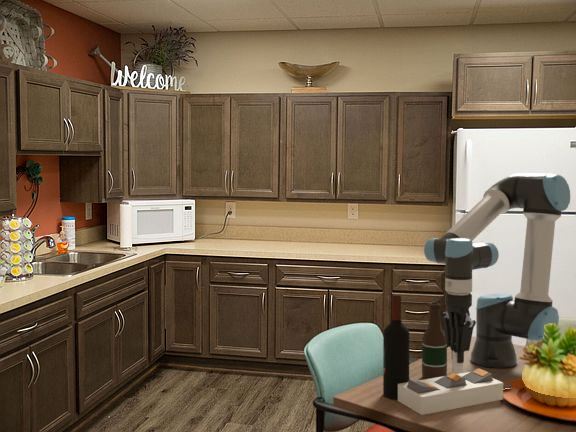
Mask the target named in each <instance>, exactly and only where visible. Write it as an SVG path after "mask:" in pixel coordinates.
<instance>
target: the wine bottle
mask: <svg viewBox="0 0 576 432" xmlns="http://www.w3.org/2000/svg"><path fill="white" fill-rule="evenodd" d="M390 320H391V322H390V323H388V324H387V325H386V326H385V327H384V329H383V335H382V336H383V337H382V338H383V340H382V341H383V345H382V347H383V350H382V351H383V353H382V354H383V359H382V360H383V361H382V363H383V364H382V365H383V367H382V368H383V369H382V371H383V374H382V376H383V377H382V379H383V382H382V384H383V385H382V387H383V390H382V391H383V392H382V393H383V394H382V395H383V397H384V398H387V399H389V400H394V401H398V384H400V383H406V382H408V381H409V379H410V330H409V328H408V327H407V326H406V325H405V324H404V323H403V322H402V295H401V294H391V319H390Z"/></svg>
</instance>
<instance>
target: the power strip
mask: <svg viewBox="0 0 576 432" xmlns="http://www.w3.org/2000/svg"><path fill="white" fill-rule="evenodd" d="M470 372H471V371H469V372H468V371H467V372H463V373H460V374H457V375H459V376H461V377H462V376H464V375H466V374H468V373H470ZM442 377H444V376H442ZM442 377H436V378H430V379H425V378H424V379H420V380H417V381H420V382H426V383H429V384H431V385H433V386H435V387H437V389H439V390H437V391H431V392H425V393H418V392H416V391H414V390H412V389H410V388H408V387H407V385H408V382H406V383H400V384H398V400H397V402H399V403H400V404H401V405H402V404H403V405H404V406H405V407H408V408H409V409H411V411H412V410H413V411H414V412H416V413H417V414H419V415H421V416H424V415H431V414H434V413H441V412H446V411H450V410H455V409H461V408H465V407H472V406H477V405H482V404H488V403H491V402H492V403H493V402H498V401H502V400H504V391H503V389H505V388H511V387H512V388H513V386H512V384H506V385H505V384H504V382H502V381H500V380H498V379H496V378H493V377H492V378H493V381H488V382H482V383H476V384H474V383H471V382H469V381H467V380H465V381H466V385H465V386H459V387H454V388H448V389H447V388H445V387H443V386H441V385H439V384H437V383H435V381H437V380H439V379H440V378H442Z"/></svg>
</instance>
